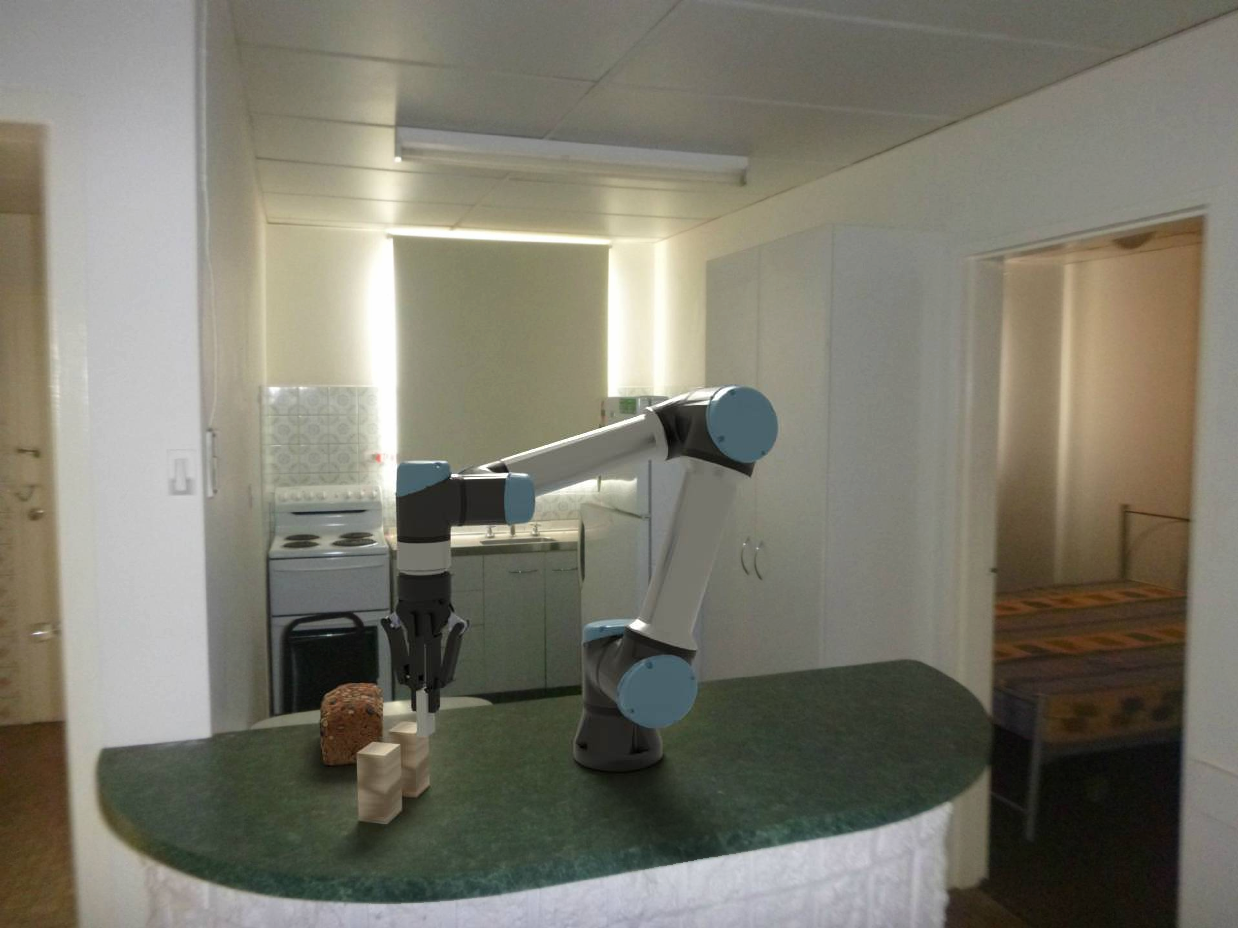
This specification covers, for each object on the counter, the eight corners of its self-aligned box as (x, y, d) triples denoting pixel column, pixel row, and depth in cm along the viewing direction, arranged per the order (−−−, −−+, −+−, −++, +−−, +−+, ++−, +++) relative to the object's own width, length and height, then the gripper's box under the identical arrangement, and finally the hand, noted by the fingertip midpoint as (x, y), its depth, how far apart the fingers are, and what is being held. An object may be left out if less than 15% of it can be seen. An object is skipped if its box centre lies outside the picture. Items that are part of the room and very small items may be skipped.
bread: (384, 762, 151) (382, 704, 150) (317, 769, 148) (316, 710, 148) (384, 725, 169) (382, 673, 168) (324, 731, 166) (323, 678, 166)
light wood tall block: (429, 785, 141) (428, 723, 141) (416, 797, 137) (414, 733, 136) (403, 782, 142) (402, 721, 142) (389, 794, 138) (387, 731, 137)
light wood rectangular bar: (402, 810, 132) (400, 744, 132) (386, 824, 128) (384, 755, 127) (374, 807, 134) (372, 741, 133) (358, 820, 129) (356, 752, 129)
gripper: (477, 567, 129) (478, 728, 130) (395, 563, 132) (397, 721, 133) (455, 576, 121) (456, 747, 123) (368, 572, 125) (371, 738, 126)
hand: (425, 733), depth 128 cm, fingers closed
